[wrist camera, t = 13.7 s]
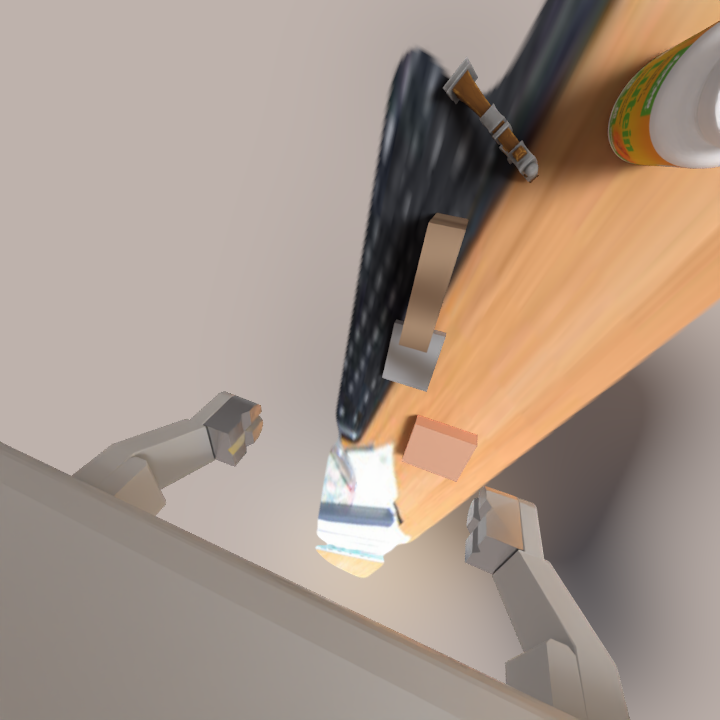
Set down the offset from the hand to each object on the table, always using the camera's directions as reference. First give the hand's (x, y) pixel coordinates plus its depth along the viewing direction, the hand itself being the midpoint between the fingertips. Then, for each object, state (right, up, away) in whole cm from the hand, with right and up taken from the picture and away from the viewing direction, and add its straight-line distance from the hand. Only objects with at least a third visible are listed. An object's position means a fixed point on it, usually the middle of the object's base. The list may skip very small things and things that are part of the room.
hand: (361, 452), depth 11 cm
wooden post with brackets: (+9, +19, +10) cm, 23 cm away
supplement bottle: (+18, +18, +7) cm, 26 cm away
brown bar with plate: (+6, +8, +18) cm, 21 cm away
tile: (+10, -5, +24) cm, 26 cm away
